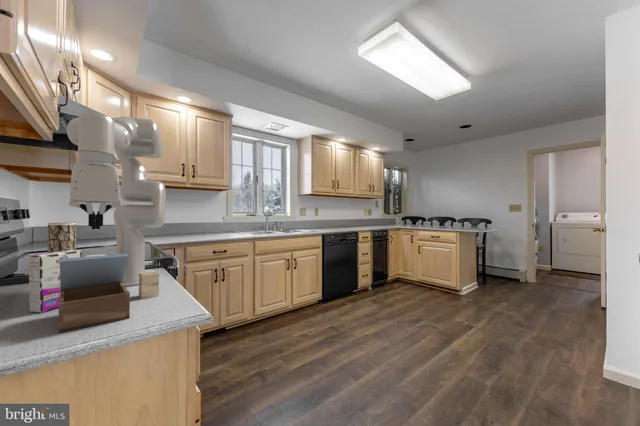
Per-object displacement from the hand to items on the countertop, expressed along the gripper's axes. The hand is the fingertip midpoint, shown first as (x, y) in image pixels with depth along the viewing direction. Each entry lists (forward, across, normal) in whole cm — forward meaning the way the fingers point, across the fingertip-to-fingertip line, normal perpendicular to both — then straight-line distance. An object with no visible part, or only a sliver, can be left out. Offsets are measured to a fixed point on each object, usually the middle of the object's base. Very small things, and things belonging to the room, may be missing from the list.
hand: (95, 228), depth 73 cm
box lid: (+13, 0, -5) cm, 13 cm away
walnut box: (+24, 0, -3) cm, 25 cm away
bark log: (+24, +7, -28) cm, 38 cm away
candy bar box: (+25, +8, -20) cm, 33 cm away
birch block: (+24, -15, -14) cm, 32 cm away
